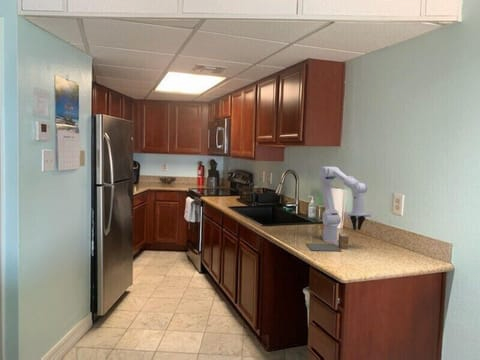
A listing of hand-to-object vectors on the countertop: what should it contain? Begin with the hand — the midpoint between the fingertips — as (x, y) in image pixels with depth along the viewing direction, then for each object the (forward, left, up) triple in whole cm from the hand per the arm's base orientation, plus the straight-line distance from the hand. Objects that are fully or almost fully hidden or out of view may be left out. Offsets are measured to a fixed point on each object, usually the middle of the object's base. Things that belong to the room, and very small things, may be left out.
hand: (356, 229), depth 205 cm
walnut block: (0, -7, -10) cm, 13 cm away
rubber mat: (0, -18, -10) cm, 21 cm away
